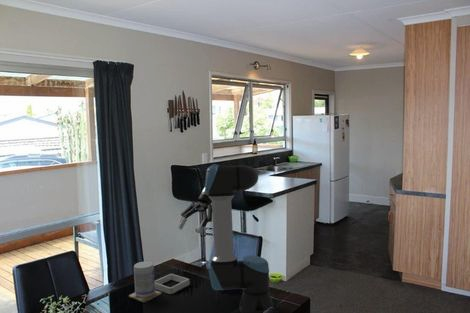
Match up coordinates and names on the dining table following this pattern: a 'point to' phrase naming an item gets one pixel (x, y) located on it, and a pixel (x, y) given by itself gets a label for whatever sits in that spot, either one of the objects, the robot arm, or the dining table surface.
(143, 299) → the birch board
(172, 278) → the grey square frame
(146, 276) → the supplement tub
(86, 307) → the dining table surface
